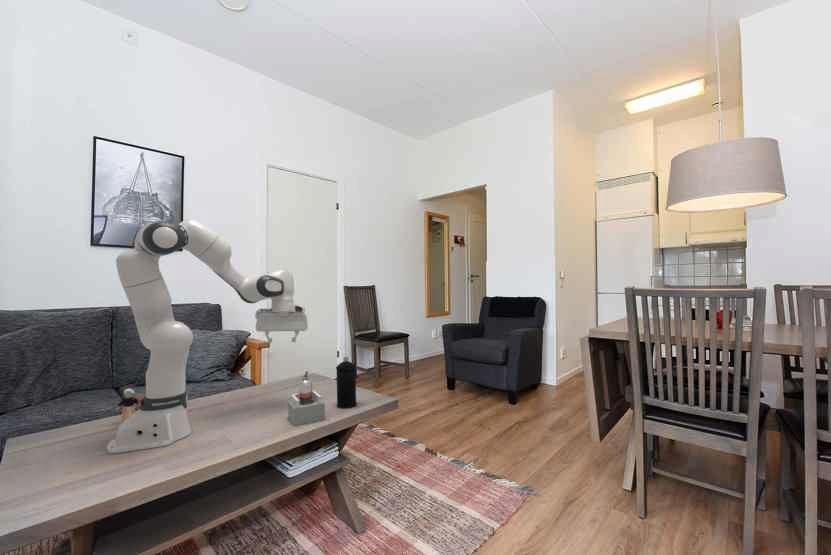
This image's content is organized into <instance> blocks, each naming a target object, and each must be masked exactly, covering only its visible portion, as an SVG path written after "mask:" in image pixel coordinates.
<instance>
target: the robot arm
mask: <svg viewBox="0 0 831 555" xmlns="http://www.w3.org/2000/svg"><path fill="white" fill-rule="evenodd" d="M180 249H181V250H182V249H183V250H185V251H186V252H189V253H190V254H192V256H194V257H196V258H197V259H199V260H200V261H201V262H202V263H203V264H205V265H206V266H207V267H208V268H210V270H212V272H214V273H215V274H216V275H217V276H218V277H219V278H221V280H223V281H224V282H225V283H227V284H228V285H229V286H230V287H231V288H233V289H234V290H235V292H236V293H237V295H238V296H239V298H240V299H241V300H242V301H244V302H245V303H247V304H256V303H258V302H260V301H261V302H262V301H265V300H268V299H270V300H271V307H270V308H259V309H257V310H256V311H255V315H254V316H255V319H256V322H255V323H256V324H255V331H256V332H259V333H260V332H262V333H263V332H264V336H265V337H266V338H267V344H270V343H273V338H271V337H270V336H269V334H270V332H294V334H295V335H294V337H291V343H296V342H297V337H298V336H299V333H300V332H304V331H305V332H306V331H307V330H308V329H309V328H308V326H309V324H308V317H307V314H306V312H305V311H306V308H305V307H304V306H301V305H297V304H295V300H294V294H295V281H294V275H293V273H292V272H290V271H288V270H286V269H275V270H274V271H273V272H271V273H268V274H263V275H259V276H257V277H256V276H255V277H254V278H249V277H246V276H244V275H243V273H242V272H240V271H239V270H238V269H237V268H236V267H234V266H233V265H232V264H231V258H232V252H233V251H232V247H231V245H230V244H229V242H228V241H227V240H226V239H225V238H223V237H222V236H221V235H220V234H218V233H217V232H216V231H214V230H213V229H212V228H210V227H209V226H207V225H206V224H203V223H202V222H200V221H198V220H196V219H193V218H189V219H184V220H183V221H181V222H180V223H178V224H176V223H172V222H171V223H170V222H167V221H157V222H151V223H148V224H145V225H144V226H142V227H141V228H140V229H138V230H137V231H136V233H135V234H134V238H133V242H132V246H131V248H130V249H127V250H123V251H122V252H121V253H120V254H119V255H117V257H116V259H115V265H116V269H117V274H118V278H119V281H120V283H121V286H122V288H123V291H124V293H125V296H126V298H127V300H128V303H129V305H130V308H131V311H132V313H133V316H134V320H135V324H136V329H137V333H138V335H139V340H140V343H141V344H142V345H143V346H144V347H145V348H146V349H147V350H150V355H149V361H148V367H147V370H146V372H145V395H140V396H139V397H138V398H137V399H138V404H137V405H138V410H135V413H134V414H133V415H131V416H130V417H129V418H128V419H126V420H125V421H124V422H123V423H122V424H121V425H120V424H119V427H118V429H117V430H116V431H117V432H116V435H115V437H114V438H113V439H111V440H110V442H108V444H107V446H106V452H107V454H118V453H126V452H133V451H140V450H147V449H154V448H161V447H167V446H168V445H171V444H172V443H174V442H176V441H179V440H182V439H184V438H185V437H187V436H189V435H190V434H191V433H192V428H191V425H190V422H189V417H188V416H189V415H188V410H187V408H188V404H189V403H188V401H189V400H188V391H187V390H186V368H187V361H188V357H189V351H190V347H191V345H192V343H193V340H194V335H193V332H192V329H190V327H189V326H187V325H186V324H184V323H183V322H181V321H178V320H176V319H175V317H174V313H173V308H172V307H173V306H172V302H173V301H172V297H171V294H170V292H169V289H168V286H167V284H166V281H165V279H164V276H163V275H162V272H161V270H160V264H159V262H160V261H159V260H160V258H161V257H165V256H168V255H171V254H173V253H175V252H177V251H179V250H180Z"/></svg>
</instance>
